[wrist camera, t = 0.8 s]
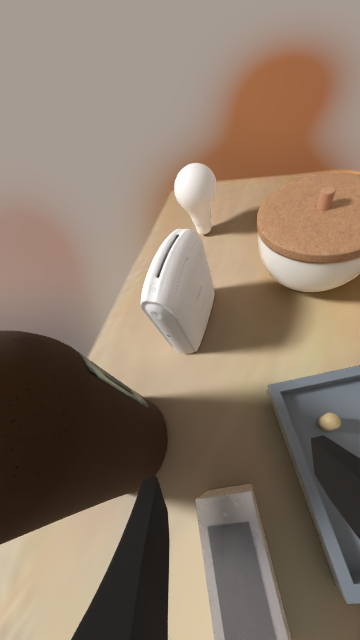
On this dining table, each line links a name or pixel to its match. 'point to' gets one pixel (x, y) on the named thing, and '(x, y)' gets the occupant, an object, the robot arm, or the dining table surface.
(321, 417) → the tray
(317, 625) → the dining table surface
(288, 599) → the dining table surface
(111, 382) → the olive oil
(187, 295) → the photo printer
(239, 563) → the block
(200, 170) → the lightbulb
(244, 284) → the dining table surface
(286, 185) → the lidded bowl
